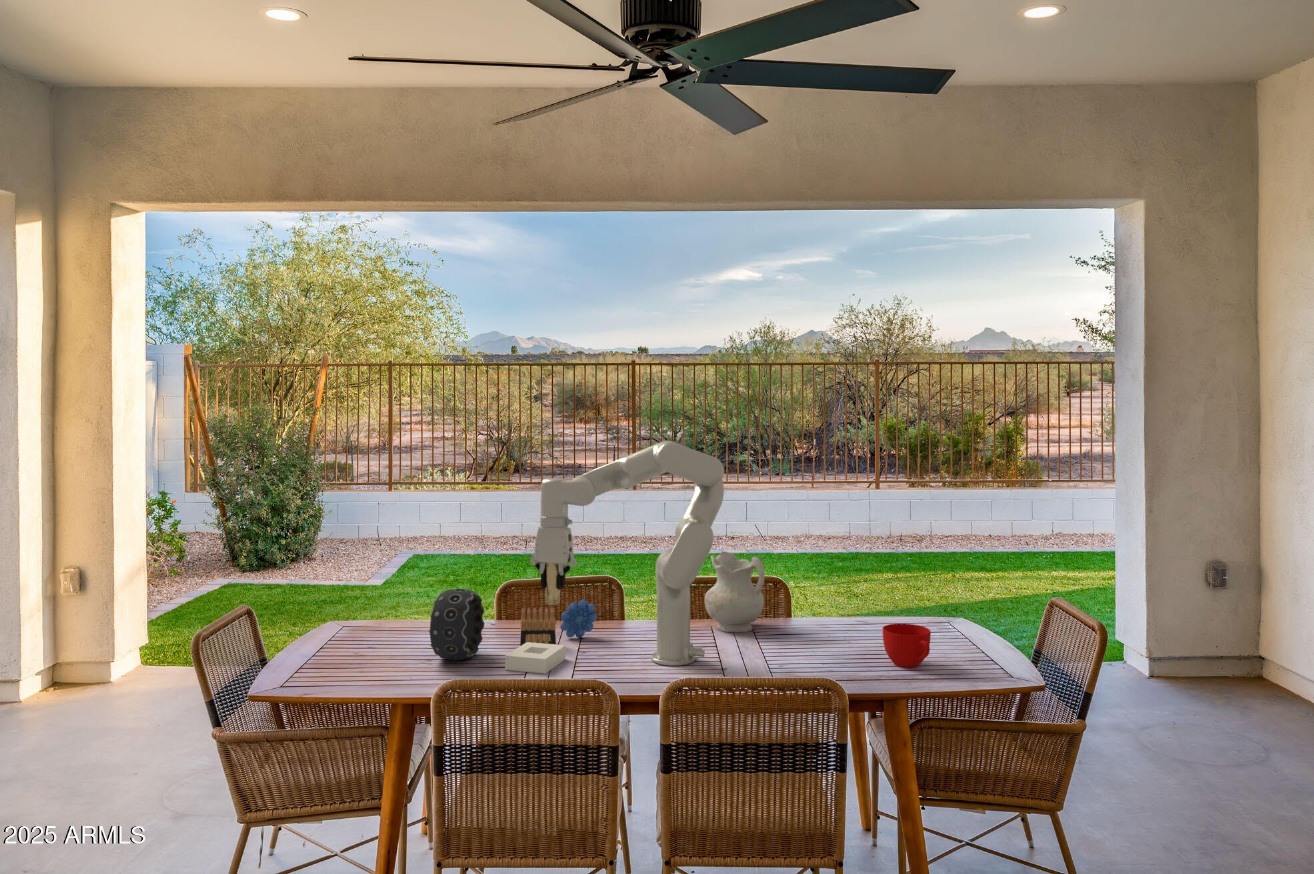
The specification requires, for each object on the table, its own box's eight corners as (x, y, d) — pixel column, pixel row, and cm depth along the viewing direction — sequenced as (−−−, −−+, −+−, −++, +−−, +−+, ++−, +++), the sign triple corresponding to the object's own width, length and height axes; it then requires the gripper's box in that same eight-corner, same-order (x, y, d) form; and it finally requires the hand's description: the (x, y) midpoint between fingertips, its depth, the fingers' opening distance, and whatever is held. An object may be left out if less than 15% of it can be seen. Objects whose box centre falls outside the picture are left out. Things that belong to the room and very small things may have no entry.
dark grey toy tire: (427, 668, 237) (426, 596, 236) (451, 648, 257) (451, 582, 256) (464, 669, 236) (464, 597, 235) (486, 649, 256) (486, 582, 255)
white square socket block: (565, 659, 245) (565, 645, 245) (545, 673, 232) (545, 659, 232) (527, 655, 249) (527, 642, 249) (505, 669, 235) (505, 655, 235)
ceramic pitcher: (779, 630, 281) (781, 554, 282) (753, 639, 264) (756, 558, 265) (721, 622, 292) (723, 549, 293) (693, 630, 276) (695, 552, 277)
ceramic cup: (906, 677, 228) (907, 640, 228) (873, 660, 244) (873, 625, 244) (948, 673, 231) (949, 637, 231) (913, 656, 248) (913, 622, 247)
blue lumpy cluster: (595, 633, 273) (595, 596, 273) (598, 639, 267) (598, 600, 266) (559, 635, 271) (559, 597, 271) (561, 640, 265) (560, 602, 264)
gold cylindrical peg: (562, 602, 240) (562, 560, 240) (556, 605, 237) (557, 562, 236) (548, 601, 241) (549, 559, 241) (543, 604, 238) (544, 561, 237)
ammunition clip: (520, 647, 258) (519, 607, 257) (520, 645, 259) (520, 606, 259) (555, 646, 258) (555, 607, 258) (556, 645, 260) (555, 606, 259)
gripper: (587, 522, 240) (585, 587, 240) (532, 519, 244) (530, 583, 245) (577, 526, 232) (575, 593, 233) (520, 522, 237) (519, 588, 238)
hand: (552, 587), depth 239 cm, fingers closed on gold cylindrical peg, 4 cm apart
